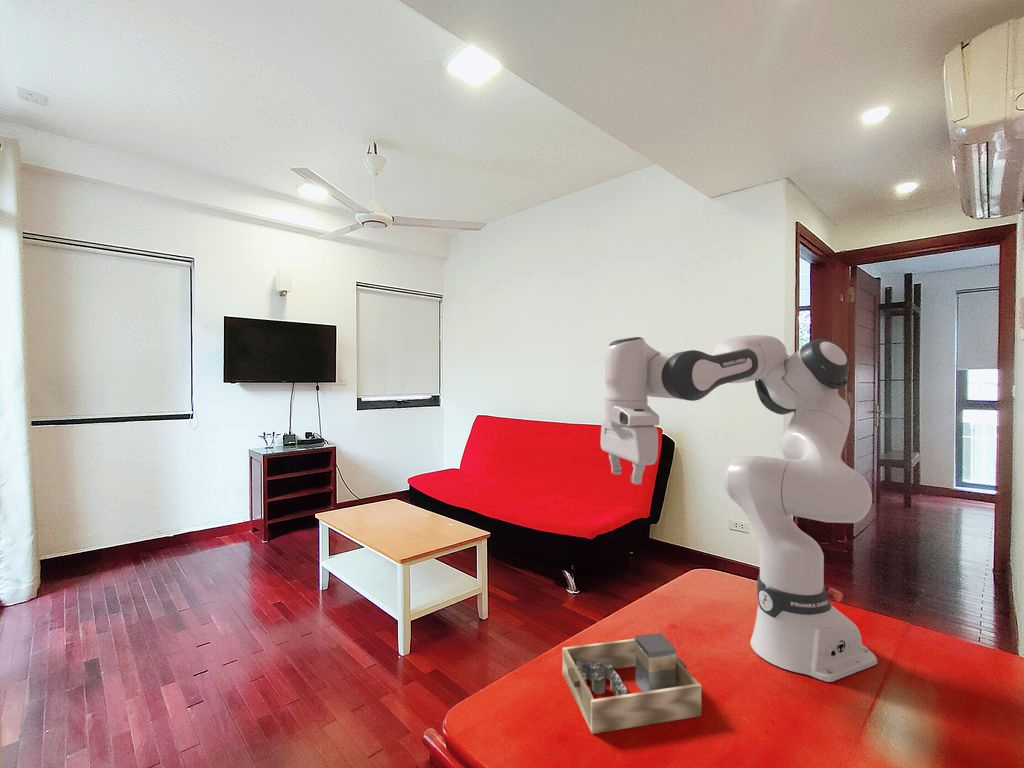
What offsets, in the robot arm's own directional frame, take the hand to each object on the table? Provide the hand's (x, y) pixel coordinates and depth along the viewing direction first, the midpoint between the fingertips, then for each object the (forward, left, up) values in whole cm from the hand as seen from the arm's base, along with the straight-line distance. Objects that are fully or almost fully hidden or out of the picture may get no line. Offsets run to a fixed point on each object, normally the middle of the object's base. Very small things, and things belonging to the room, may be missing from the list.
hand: (625, 478), depth 99 cm
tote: (+7, +16, -34) cm, 39 cm away
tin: (+2, +16, -34) cm, 38 cm away
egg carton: (+12, +16, -35) cm, 40 cm away
